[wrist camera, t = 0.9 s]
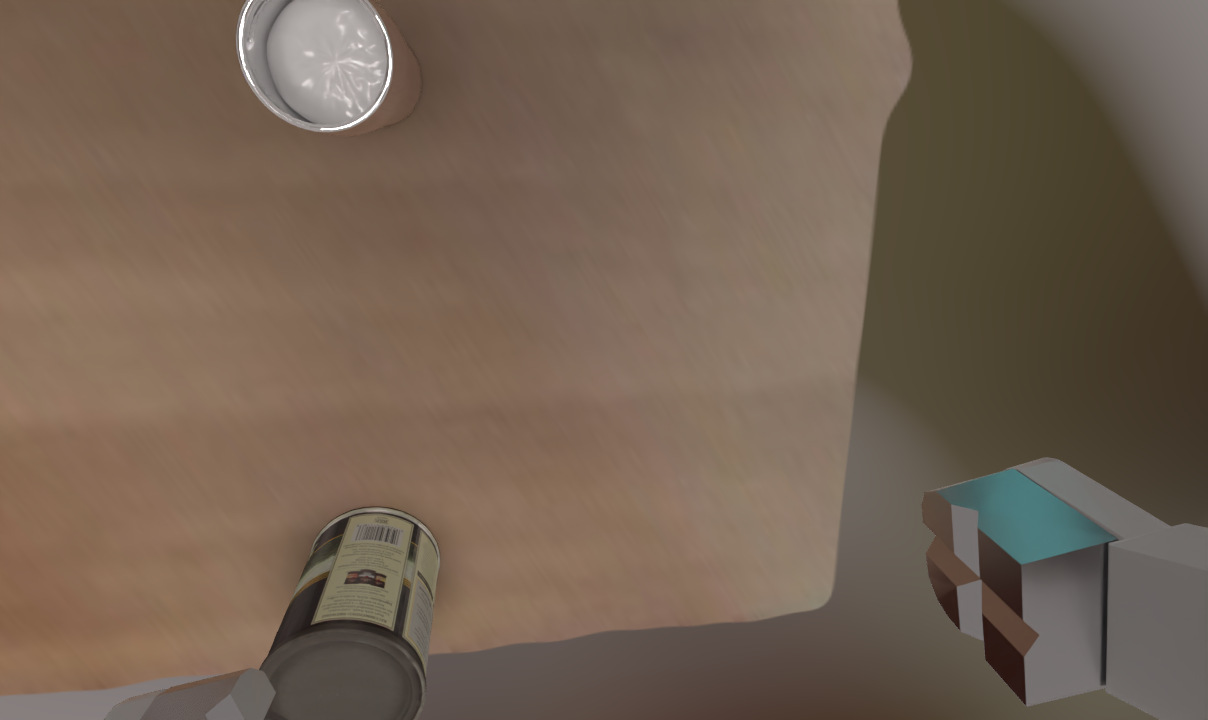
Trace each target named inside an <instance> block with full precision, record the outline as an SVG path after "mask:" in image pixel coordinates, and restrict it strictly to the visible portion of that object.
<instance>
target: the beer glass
mask: <svg viewBox="0 0 1208 720" xmlns="http://www.w3.org/2000/svg"><path fill="white" fill-rule="evenodd" d="M236 51H237V57H238V61H239V64H240V68H241V70H242V73H243V75H244V77H245V79H246V81H247V83H248V85H249V87H250V88H251V90H252V91H253V93H254V94H255V95H256V97H257V98H258V99H259V100H260V101H261V103H262V104H263V105H264V106H265V107H266V108H267V109H269V110H270V111H271V112H272V113H273V114H275V115H276V116H277V117H279V118H280V119H282V120H284V121H285V122H287V123H289V124H291V125H293V126H296V127H298V128H301V129H305V130H308V131H313V132H317V133H321V134H325V135H332V136H357V135H362V134H366V133H369V132H372V131H375V130H377V129H379V128H381V127H386V126H390V125H393V124H396V123H398V122H400V121H402V120H403V119H405V118H406V117H407V116H408V115H409V114H410V113H411V112H412V111H413V109H414V108H415V106H416V104H417V102H418V100H419V97H420V94H421V88H422V77H421V71H420V67H419V64H418V61H417V59H416V57H415V55H414V53H413V51H412V50H411V49H410V47H409V46H408V45H407V44H406V42H405V40H404V38H403V35H402V34H401V32H400V30H399V28H398V27H397V25H396V24H395V23H394V21H393V20H392V18H391V17H390V16H389V14H388V13H387V12H386V11H385V10H384V9H383V8H382V7H381V6H380V5H379V4H378V3H377V2H375V1H374V0H246V1H245V3H244V5H243V7H242V9H241V12H240V14H239V18H238V22H237V27H236Z"/></svg>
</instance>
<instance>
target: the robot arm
mask: <svg viewBox="0 0 1208 720" xmlns="http://www.w3.org/2000/svg"><path fill="white" fill-rule="evenodd" d="M922 517H923V523H924V524H925V525H926V526H927V527H928V528H929V529H930V530H931V531H932V532H933V533H934V534H935V535H936V537H935V538H934V540H933V542H932V544H931V545H930V547H929V549H928V551H927V552H926V560H927V567H928V575H929V578H930V582H931V584H932V587H933V589H934V592H935V595H936V597H937V600H938V601H939V603H940V605H941V606H942V608H943V610H944V611H945V613H946V614H947V616H948V617H949V618H950V620H951V621H952V622H953V623H954V624H955V626H956V627H957V628H958V629H959V630H960V631H961V632H963V633H965V634H968V635H970V636H973V637H975V638H977V639H980V640H982V641H984V650H985V660H986V661H987V662H988V664H989V665H990V666H991V667H992V668H993V669H994V670H995V672H996V673H997V674H998V675H999V676H1000V677H1001V678H1002V680H1003V681H1004V682H1005V683H1006V684H1007V685H1008V686H1009V687H1010V689H1011V690H1012V691H1013V692H1014V693H1015V694H1016V695H1017V697H1018V698H1019V699H1020V700H1021V701H1022V702H1023V703H1024V704H1025V705H1026V706H1030V705H1035V704H1039V703H1044V702H1048V701H1052V700H1056V699H1060V698H1065V697H1068V696H1073V695H1077V694H1081V693H1086V692H1090V691H1094V690H1098V689H1103V688H1106V692H1107V693H1109V694H1111V695H1113V696H1115V697H1117V698H1119V699H1121V700H1123V701H1125V702H1127V703H1128V704H1130V705H1133V706H1134V707H1136V708H1138V709H1140V710H1142V711H1144V712H1146V713H1148V714H1150V715H1152V716H1154V717H1156V718H1158V719H1160V720H1208V528H1205V527H1200V526H1195V525H1191V524H1186V523H1185V524H1181V525H1177V526H1173V527H1170V526H1169V525H1167V524H1165V523H1164V522H1162V521H1160V520H1159V519H1157V518H1155V517H1154V516H1152V515H1150V514H1149V513H1147V512H1145V511H1144V510H1142V509H1140V508H1139V507H1137V506H1135V505H1134V504H1132V503H1130V502H1129V501H1127V500H1125V499H1124V498H1122V497H1120V496H1119V495H1117V494H1115V493H1114V492H1112V491H1110V490H1108V489H1107V488H1105V487H1103V486H1102V485H1100V484H1099V483H1097V482H1095V481H1094V480H1092V479H1090V478H1089V477H1087V476H1085V475H1084V474H1082V473H1080V472H1079V471H1077V470H1075V469H1074V468H1072V467H1070V466H1069V465H1067V464H1065V463H1063V462H1062V461H1060V460H1057V459H1052V458H1046V457H1045V458H1041V459H1038V460H1035V461H1031V462H1028V463H1025V464H1021V465H1018V466H1015V467H1011V468H1008V469H1005V470H1004V471H1002V472H998V473H995V474H991V475H988V476H984V477H980V478H976V479H972V480H969V481H965V482H961V483H958V484H954V485H950V486H947V487H943V488H939V489H935V490H932V491H928V492H925V493H924V497H923V501H922ZM275 694H276V692H275V690H274V688H273V686H272V685H271V683H270V681H269V679H268V678H267V676H266V674H265V672H264V671H260V670H257V669H253V668H249V669H245V670H241V671H237V672H232V673H228V674H224V675H220V676H216V677H212V678H207V679H203V680H199V681H195V682H191V683H187V684H182V685H178V686H174V687H170V688H169V689H162V690H158V691H154V692H151V693H147V694H143V695H139V696H135V697H131V698H129V699H127V700H125V701H123V702H121V703H119V704H117V705H116V706H114V707H113V708H112V710H111V711H110V712H109V713H108V715H107V716H106V717H105V719H104V720H288V719H286V718H284V717H282V716H280V715H279V714H277V713H275V712H273V711H271V707H272V704H273V701H274V698H275Z"/></svg>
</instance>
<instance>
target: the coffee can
mask: <svg viewBox="0 0 1208 720" xmlns="http://www.w3.org/2000/svg"><path fill="white" fill-rule="evenodd" d="M439 567H440V553H439V549H438V545H437V542H436V540H435V539H434V537H433V535H432V534H431V532H430V531H429V530H428V529H427V527H426V526H425V525H423V524H422V523H421V522H420V521H419V520H417V519H416V518H414V517H412V516H411V515H409V514H407V513H405V512H401V511H398V510H394V509H390V508H382V507H370V508H362V509H357V510H353V511H350V512H348V513H345V514H343V515H341V516H339V517H337V518H336V519H334V520H333V521H331V522H330V523H329V524H328V525H327V526H325V527H324V528H323V530H322V531H321V532H320V533H319V535H318V536H317V538H316V539H315V541H314V543H313V546H312V550H311V554H310V556H309V558H308V561H307V563H306V566H305V568H304V571H303V573H302V575H301V578H300V580H299V583H298V585H297V588H296V590H295V592H294V595H293V597H292V600H291V602H290V604H289V607H288V609H287V611H286V613H285V616H284V618H283V621H282V623H281V625H280V627H279V630H278V632H277V634H276V636H275V639H274V642H273V644H272V647H271V649H270V651H269V654H268V656H267V657H266V659H265V660H264V662H263V663H262V665H261V667H260V669H259V670H260V671H264V672H265V674H266V676H267V678H268V679H269V681H270V683H271V685H272V686H273V688H274V690H275V692H276V694H275V698H274V701H273V704H272V707H271V711H273V712H275V713H277V714H279V715H280V716H282V717H284V718H286V719H288V720H417V719H418V717H419V716H420V714H421V711H422V709H423V706H424V702H425V697H426V669H427V661H428V652H429V643H430V635H431V626H432V618H433V609H434V601H435V592H436V584H437V575H438V572H439Z"/></svg>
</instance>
